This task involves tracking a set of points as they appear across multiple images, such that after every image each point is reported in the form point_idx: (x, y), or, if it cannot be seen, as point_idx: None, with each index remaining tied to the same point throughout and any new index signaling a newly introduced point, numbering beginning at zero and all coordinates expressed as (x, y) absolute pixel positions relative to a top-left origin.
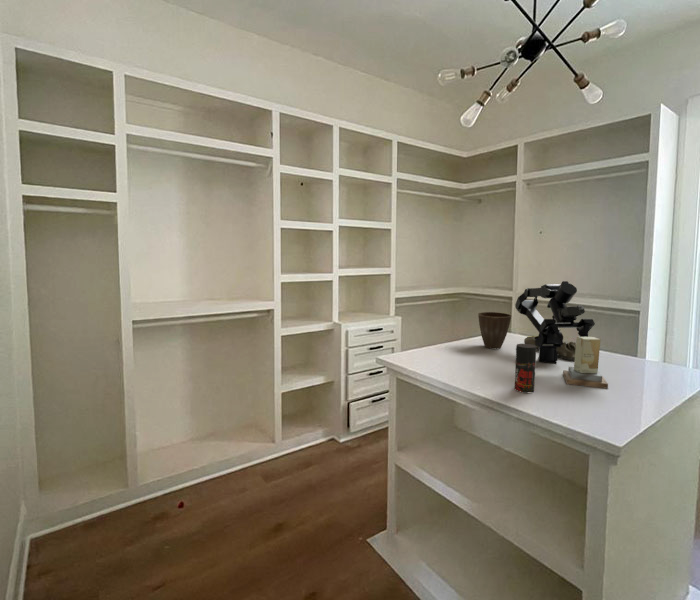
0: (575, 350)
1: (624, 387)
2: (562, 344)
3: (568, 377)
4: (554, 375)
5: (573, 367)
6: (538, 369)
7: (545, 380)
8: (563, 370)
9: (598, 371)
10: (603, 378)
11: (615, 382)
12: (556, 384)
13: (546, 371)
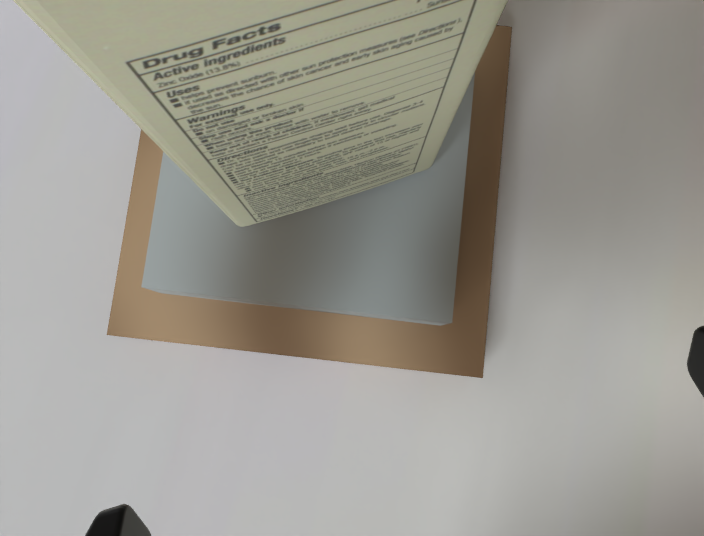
0: (482, 54)
1: (14, 71)
2: (699, 337)
3: (485, 106)
4: (566, 304)
5: (404, 290)
6: (701, 504)
7: (675, 110)
8: (482, 366)
9: (161, 183)
10: (142, 156)
11: (32, 210)
12: (595, 14)
13: (625, 442)
